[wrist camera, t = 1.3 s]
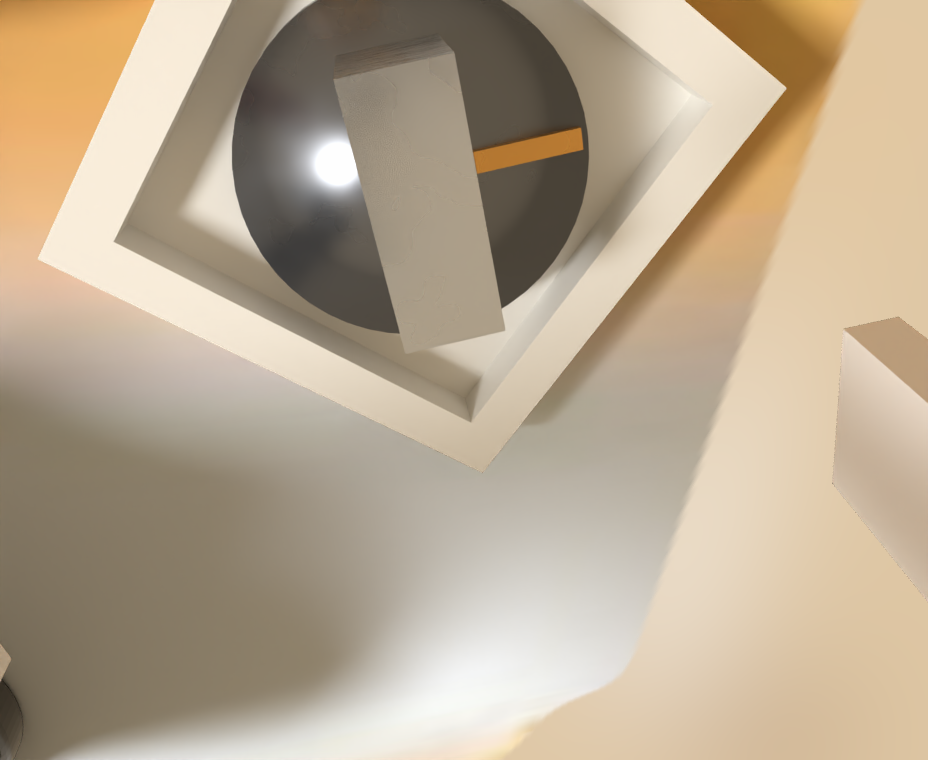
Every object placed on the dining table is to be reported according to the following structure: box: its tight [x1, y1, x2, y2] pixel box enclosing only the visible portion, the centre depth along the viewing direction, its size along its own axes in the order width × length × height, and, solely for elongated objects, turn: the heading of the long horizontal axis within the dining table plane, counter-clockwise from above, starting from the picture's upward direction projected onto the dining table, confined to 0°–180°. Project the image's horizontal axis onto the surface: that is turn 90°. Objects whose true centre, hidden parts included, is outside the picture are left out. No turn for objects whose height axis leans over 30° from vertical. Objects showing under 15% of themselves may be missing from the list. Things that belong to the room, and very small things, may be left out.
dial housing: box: [38, 0, 787, 473], centre depth 30 cm, size 20×20×4 cm
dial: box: [232, 0, 589, 354], centre depth 27 cm, size 13×13×7 cm
